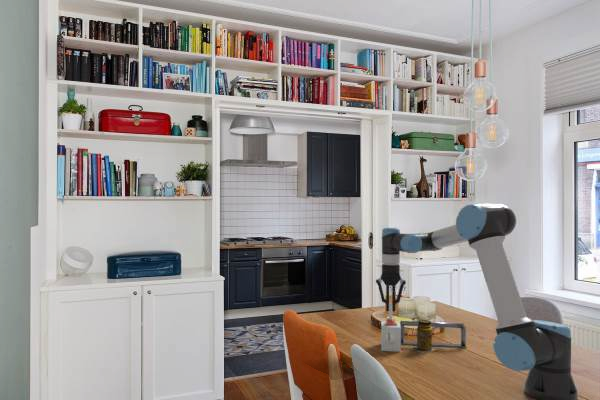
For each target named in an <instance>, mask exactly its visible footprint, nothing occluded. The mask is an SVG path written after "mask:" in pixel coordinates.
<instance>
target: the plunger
mask: <svg viewBox="0 0 600 400" xmlns="http://www.w3.org/2000/svg"><path fill="white" fill-rule="evenodd" d="M385 321H386V326H395V322H396V319H395V318H392V320H389V318H386V320H385Z"/></svg>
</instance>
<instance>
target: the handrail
mask: <svg viewBox="0 0 600 400" xmlns="http://www.w3.org/2000/svg"><path fill="white" fill-rule="evenodd" d="M418 321H419V320H418ZM418 321H416V320H415V321H413V320H400V321H399V322H400V326H401V345H404V346H417V341H405V326H408V327H418ZM430 322H431V328H452V329H460V343H445V342H444V343H443V342H432V347H440V348H441V347H443V348H444V347H446V348H463V349H467V326H466V325H464V323H462V322H461V323H460V322H458V323H457V322H440V321H439V322H438V321H430Z"/></svg>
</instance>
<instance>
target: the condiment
mask: <svg viewBox="0 0 600 400" xmlns="http://www.w3.org/2000/svg"><path fill="white" fill-rule="evenodd" d="M431 322H432V321H430V320H428V319H419V320H418V326H416V328H417V329H416V332H417V333H416V334H417V335H416V339H417V340H416V342H417V345H416V346H414V347H410V348H409V349H410V350H412V351H414V352H415V351H416V352H418V353H420V354H425V353H429V352H433V351H436V350H437V349H435V348H433V346H432V343H433V329H432V328H433V327H431Z"/></svg>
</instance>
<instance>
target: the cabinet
mask: <svg viewBox="0 0 600 400" xmlns="http://www.w3.org/2000/svg"><path fill="white" fill-rule="evenodd" d="M380 327H381V331H380V332H381V333H380V334H381V335H380V336H381V340H380V341H381V343H380V344H381V345H380V351H381V352H399V353H401V351H402V350H401V349H402V347H401V326H400V321H395V326H386V320H381V324H380Z"/></svg>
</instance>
